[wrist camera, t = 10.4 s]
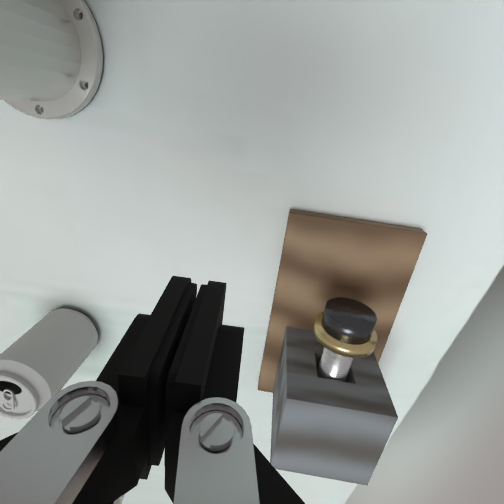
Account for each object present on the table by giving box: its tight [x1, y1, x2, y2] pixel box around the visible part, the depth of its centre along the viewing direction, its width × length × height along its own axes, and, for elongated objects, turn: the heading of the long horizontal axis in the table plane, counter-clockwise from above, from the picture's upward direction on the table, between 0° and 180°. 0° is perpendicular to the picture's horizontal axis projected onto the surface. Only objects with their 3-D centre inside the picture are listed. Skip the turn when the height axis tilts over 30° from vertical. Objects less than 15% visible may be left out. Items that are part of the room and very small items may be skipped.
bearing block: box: [258, 209, 427, 485], centre depth 33 cm, size 25×14×12 cm, turn 173°
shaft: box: [313, 297, 377, 382], centre depth 34 cm, size 19×6×6 cm, turn 173°
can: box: [0, 308, 98, 419], centre depth 38 cm, size 8×8×12 cm
